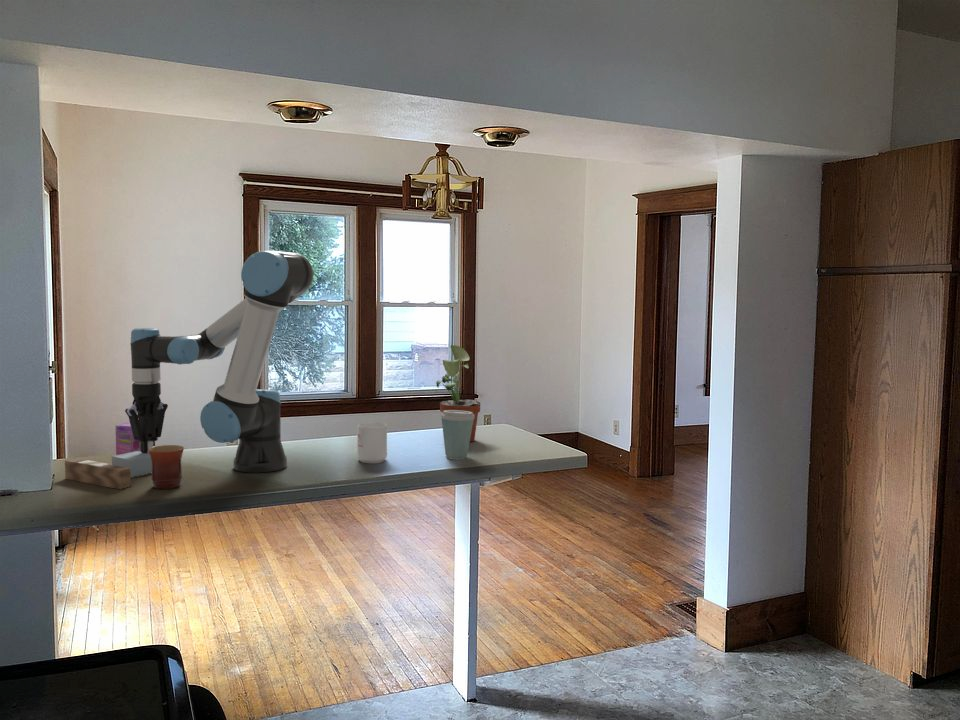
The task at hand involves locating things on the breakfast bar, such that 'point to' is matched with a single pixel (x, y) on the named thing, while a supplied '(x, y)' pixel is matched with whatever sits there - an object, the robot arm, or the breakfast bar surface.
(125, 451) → the box
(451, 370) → the potted plant
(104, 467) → the board
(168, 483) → the mug
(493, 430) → the breakfast bar surface
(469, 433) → the disposable coffee cup
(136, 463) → the block
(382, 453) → the mug
